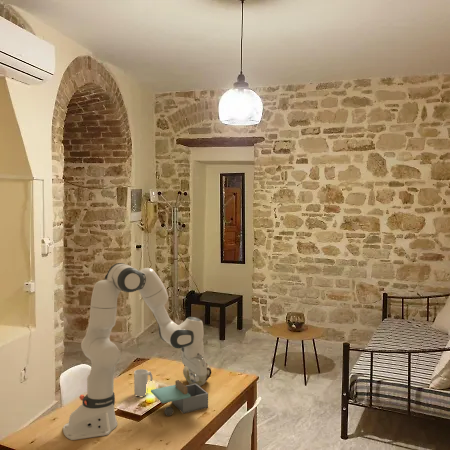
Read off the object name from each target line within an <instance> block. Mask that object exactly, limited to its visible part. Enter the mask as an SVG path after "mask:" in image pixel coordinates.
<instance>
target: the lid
mask: <svg viewBox="0 0 450 450" xmlns="http://www.w3.org/2000/svg"><path fill="white" fill-rule="evenodd" d="M174 382H175V383H174V384H173V385H167V386H163V387H158V388H154V389H153V388H152V389H150V392H151V394H152V395H153V396H154V397H156V399H158V401H160V403H161V404H166V403H170V402H171V403H172V401H176V400H180V399H185V398H189V397H191V395H190V394H189V393H188V392H187V387H186V386H187V385H185V384H184V383H183V382H182V381H180V380H179V379H177V380H175V381H174Z"/></svg>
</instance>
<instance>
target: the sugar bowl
mask: <svg viewBox="0 0 450 450" xmlns="http://www.w3.org/2000/svg"><path fill="white" fill-rule="evenodd" d="M183 365H184V364H183ZM206 365H207V374H206V376H201V377H199V381H197V382H191V380H190V376H189V371H188V367H187V366H185V365H184V367H183V370H182V373H183V376H184V379H185V380H186V381H187V383H188V385H192V384H197V385H198V386H200V387H201V386H203V385H205V383H206V382H207V381H208V380H209V378H210V377H211V375H212V368H211V367H210V365H209V364H208V363H207V362H206ZM193 373H194V374H195V372H193Z"/></svg>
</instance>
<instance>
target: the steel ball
mask: <svg viewBox="0 0 450 450" xmlns="http://www.w3.org/2000/svg"><path fill="white" fill-rule="evenodd" d="M195 376H196V375H195V374H192V375H191V376H190V380H191V382H196V381H195V380H194V377H195Z"/></svg>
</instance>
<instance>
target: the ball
mask: <svg viewBox="0 0 450 450" xmlns="http://www.w3.org/2000/svg"><path fill="white" fill-rule="evenodd" d="M164 414H165V415H166V416H167V417H169V416H172V415H173V414H174V409H173V406H172V407H171V406H167V407H165V408H164Z"/></svg>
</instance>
